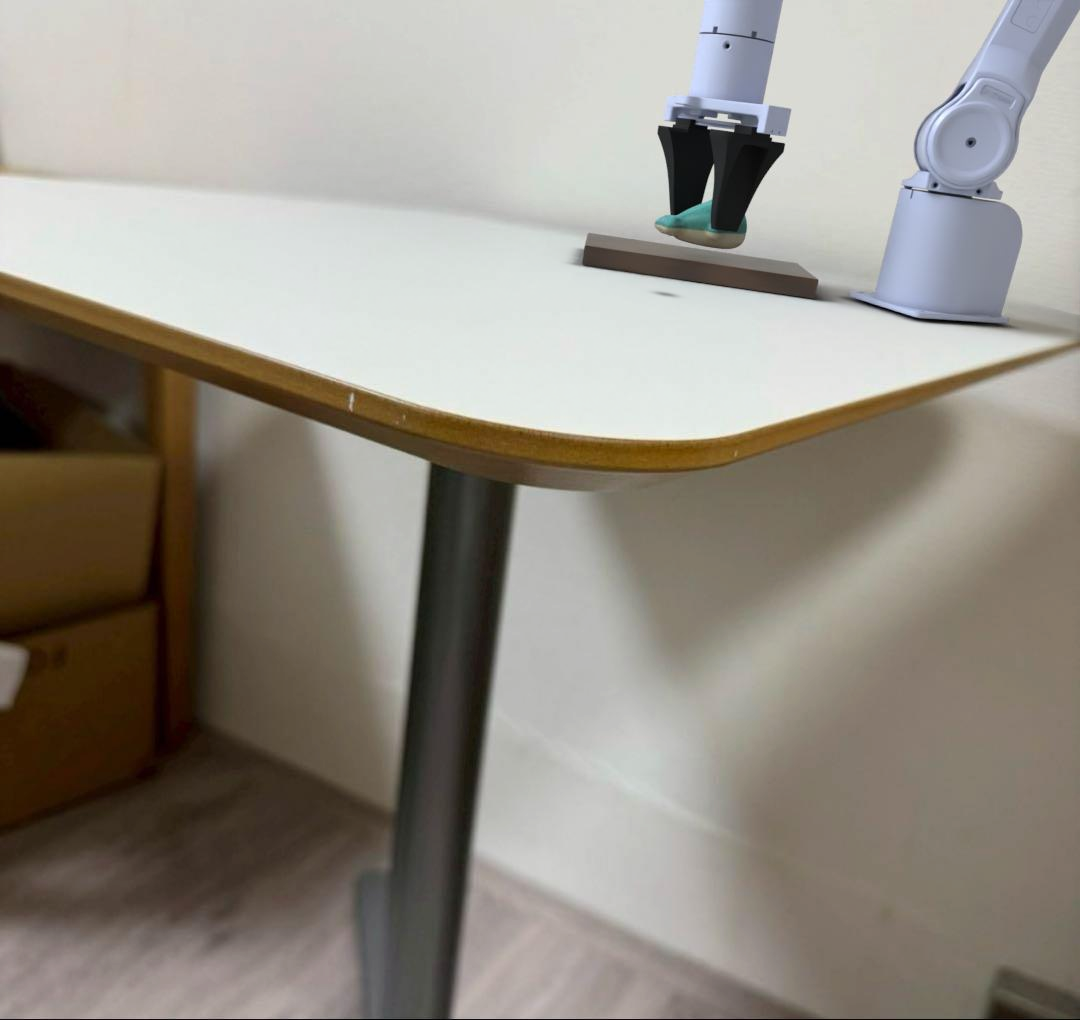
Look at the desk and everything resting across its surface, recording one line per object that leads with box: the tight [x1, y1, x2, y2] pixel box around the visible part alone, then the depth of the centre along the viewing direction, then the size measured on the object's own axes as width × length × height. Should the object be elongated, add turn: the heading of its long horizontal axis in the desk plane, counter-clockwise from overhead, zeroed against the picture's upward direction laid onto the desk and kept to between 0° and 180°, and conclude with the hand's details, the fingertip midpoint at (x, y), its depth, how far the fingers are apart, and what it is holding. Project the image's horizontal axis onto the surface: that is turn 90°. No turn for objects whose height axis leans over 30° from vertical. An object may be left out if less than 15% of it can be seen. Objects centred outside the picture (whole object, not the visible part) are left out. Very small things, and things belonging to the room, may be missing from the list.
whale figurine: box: [653, 199, 748, 250], centre depth 84 cm, size 6×7×4 cm
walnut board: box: [581, 232, 819, 300], centre depth 85 cm, size 18×10×2 cm, turn 86°
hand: (702, 224), depth 84 cm, fingers closed on whale figurine, 6 cm apart
